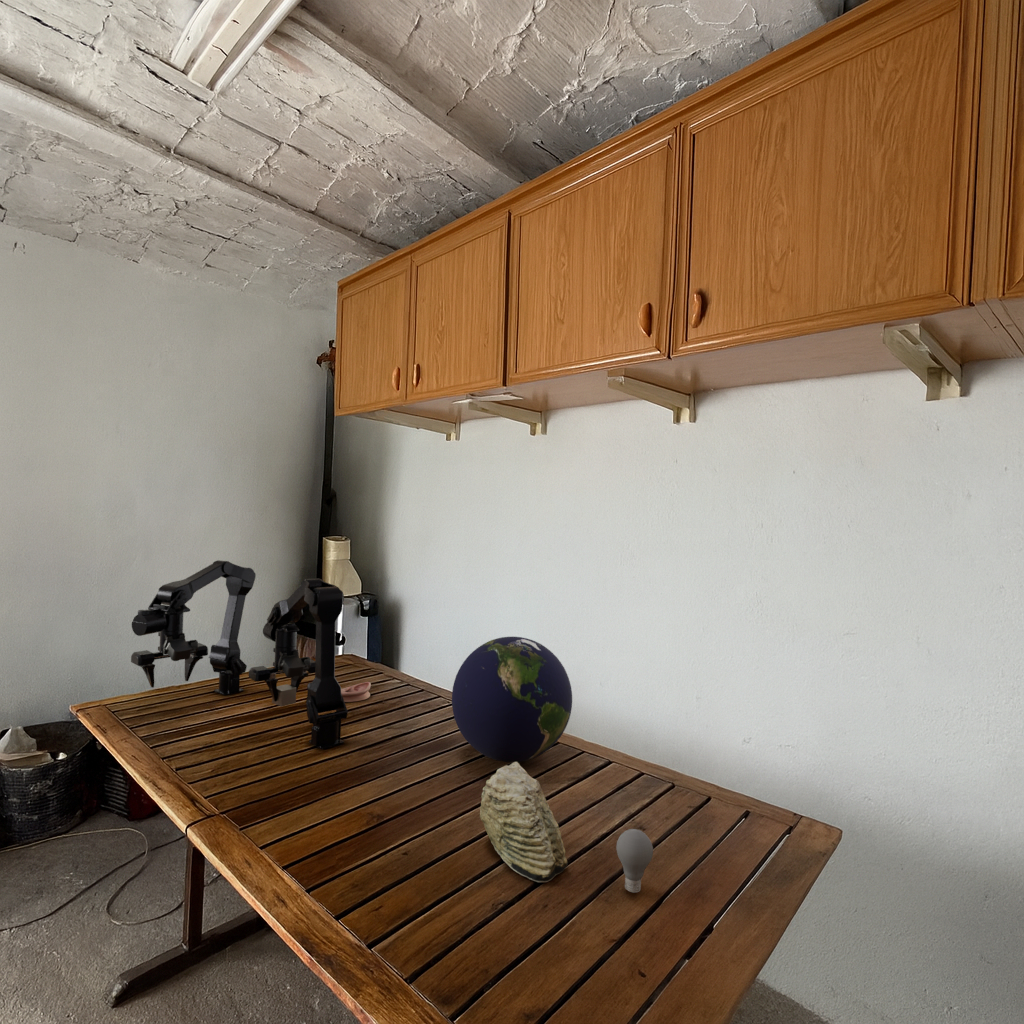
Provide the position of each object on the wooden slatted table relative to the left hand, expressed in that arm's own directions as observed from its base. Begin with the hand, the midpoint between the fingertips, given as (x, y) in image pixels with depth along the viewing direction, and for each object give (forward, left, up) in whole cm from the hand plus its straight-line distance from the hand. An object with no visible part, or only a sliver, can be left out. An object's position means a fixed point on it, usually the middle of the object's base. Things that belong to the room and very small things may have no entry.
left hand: (169, 684), depth 180 cm
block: (+24, +20, -5) cm, 32 cm away
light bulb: (+139, +7, -8) cm, 140 cm away
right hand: (+24, +20, -4) cm, 32 cm away
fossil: (+119, +3, -8) cm, 119 cm away
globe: (+92, +38, -8) cm, 100 cm away
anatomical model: (+26, +42, -8) cm, 50 cm away
